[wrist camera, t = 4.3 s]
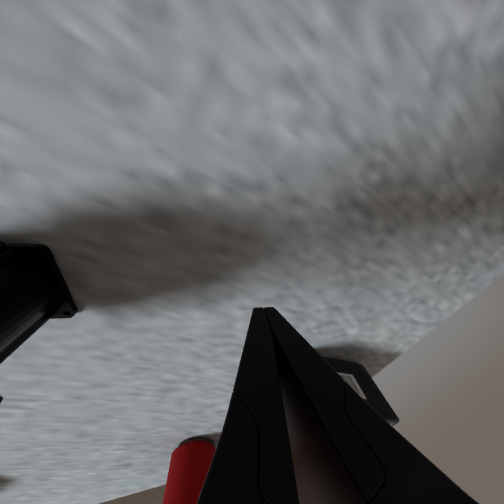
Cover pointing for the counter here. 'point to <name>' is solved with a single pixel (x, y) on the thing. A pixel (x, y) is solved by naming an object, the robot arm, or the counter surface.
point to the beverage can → (188, 471)
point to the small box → (364, 388)
